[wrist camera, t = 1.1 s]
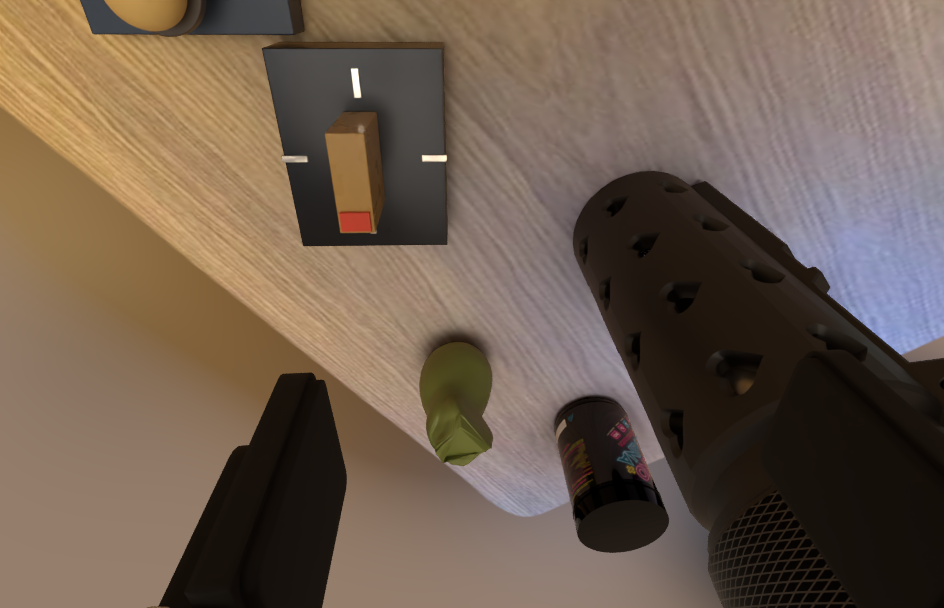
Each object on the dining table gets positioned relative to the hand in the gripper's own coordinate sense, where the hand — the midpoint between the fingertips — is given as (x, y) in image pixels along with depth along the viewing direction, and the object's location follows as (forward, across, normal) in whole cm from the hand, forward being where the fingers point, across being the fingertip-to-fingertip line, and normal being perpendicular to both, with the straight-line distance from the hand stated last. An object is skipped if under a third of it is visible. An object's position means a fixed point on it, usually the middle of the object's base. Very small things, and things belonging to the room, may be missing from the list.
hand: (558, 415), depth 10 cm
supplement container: (+24, -10, +26) cm, 37 cm away
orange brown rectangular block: (+21, +7, 0) cm, 22 cm away
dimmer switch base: (+24, +7, 0) cm, 25 cm away
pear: (+24, +2, +17) cm, 30 cm away
